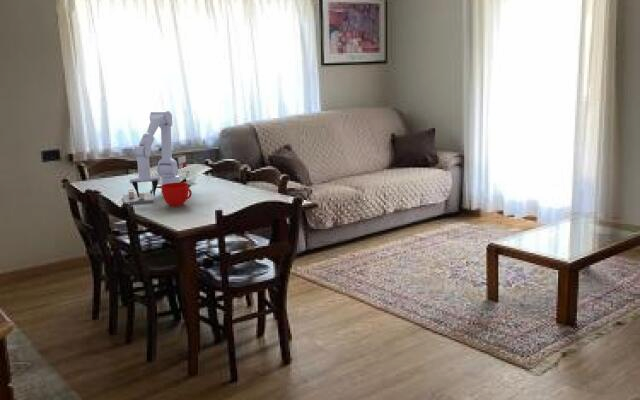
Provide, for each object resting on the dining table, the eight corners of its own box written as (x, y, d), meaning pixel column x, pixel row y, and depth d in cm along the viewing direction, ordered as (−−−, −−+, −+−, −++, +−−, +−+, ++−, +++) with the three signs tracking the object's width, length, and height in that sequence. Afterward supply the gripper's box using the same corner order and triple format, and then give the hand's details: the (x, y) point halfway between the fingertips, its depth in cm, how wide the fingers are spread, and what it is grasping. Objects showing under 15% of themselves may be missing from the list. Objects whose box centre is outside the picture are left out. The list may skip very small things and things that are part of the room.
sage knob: (144, 197, 305) (143, 192, 304) (144, 198, 303) (143, 192, 302) (139, 198, 304) (138, 192, 303) (139, 199, 302) (138, 193, 301)
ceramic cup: (182, 210, 285) (180, 189, 283) (157, 206, 294) (155, 186, 292) (201, 204, 296) (199, 184, 294) (176, 201, 305) (174, 181, 302)
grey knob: (133, 194, 314) (132, 188, 314) (133, 194, 312) (133, 189, 311) (128, 194, 314) (128, 188, 313) (128, 195, 311) (128, 189, 311)
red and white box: (180, 183, 351) (178, 157, 348) (173, 182, 352) (171, 157, 348) (188, 179, 361) (186, 154, 358) (181, 179, 362) (179, 154, 359)
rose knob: (134, 196, 309) (133, 190, 308) (134, 197, 307) (133, 191, 306) (129, 196, 308) (128, 191, 307) (129, 197, 306) (128, 191, 305)
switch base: (150, 195, 320) (150, 192, 319) (153, 202, 302) (153, 199, 302) (123, 197, 315) (122, 194, 315) (124, 205, 298) (124, 202, 297)
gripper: (129, 171, 295) (131, 198, 298) (159, 169, 299) (161, 196, 302) (128, 169, 301) (131, 196, 304) (158, 167, 306) (160, 193, 309)
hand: (146, 196), depth 304 cm, fingers open, 7 cm apart
